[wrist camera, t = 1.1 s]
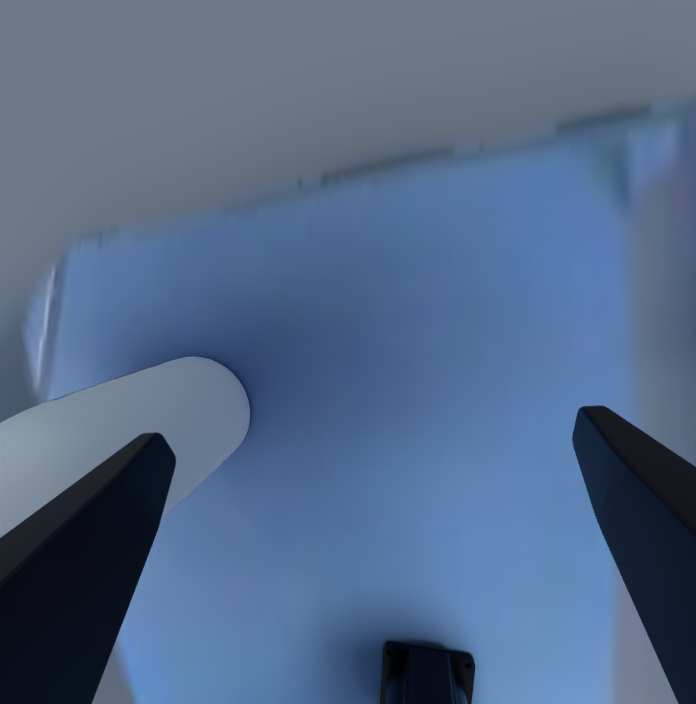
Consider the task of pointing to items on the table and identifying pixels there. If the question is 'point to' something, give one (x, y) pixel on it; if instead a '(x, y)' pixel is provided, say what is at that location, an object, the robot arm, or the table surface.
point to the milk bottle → (122, 432)
